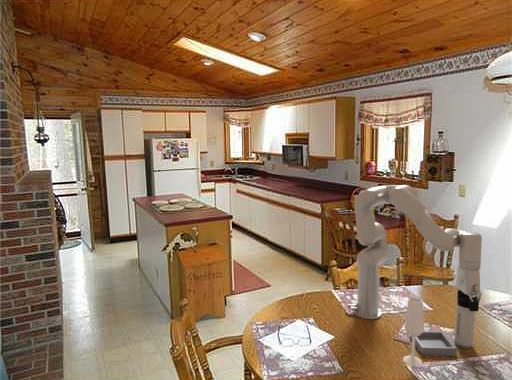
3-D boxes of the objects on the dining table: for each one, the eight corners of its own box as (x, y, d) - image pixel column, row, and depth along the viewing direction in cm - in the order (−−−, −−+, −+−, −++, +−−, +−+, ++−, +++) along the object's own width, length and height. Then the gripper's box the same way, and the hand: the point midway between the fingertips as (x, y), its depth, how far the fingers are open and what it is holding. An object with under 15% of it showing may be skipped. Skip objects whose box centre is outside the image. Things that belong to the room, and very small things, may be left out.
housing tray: (421, 355, 147) (421, 347, 147) (409, 337, 160) (410, 330, 160) (456, 355, 146) (456, 348, 146) (441, 338, 159) (442, 331, 159)
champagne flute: (408, 353, 148) (411, 294, 145) (425, 361, 143) (429, 299, 140) (399, 360, 144) (402, 299, 140) (416, 368, 139) (420, 305, 135)
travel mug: (470, 341, 157) (473, 294, 154) (473, 349, 150) (477, 301, 148) (453, 338, 159) (456, 292, 156) (455, 347, 152) (459, 299, 150)
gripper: (449, 257, 159) (448, 296, 161) (470, 271, 141) (468, 315, 144) (468, 257, 158) (466, 296, 160) (491, 271, 141) (489, 315, 143)
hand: (467, 305), depth 152 cm, fingers open, 9 cm apart
